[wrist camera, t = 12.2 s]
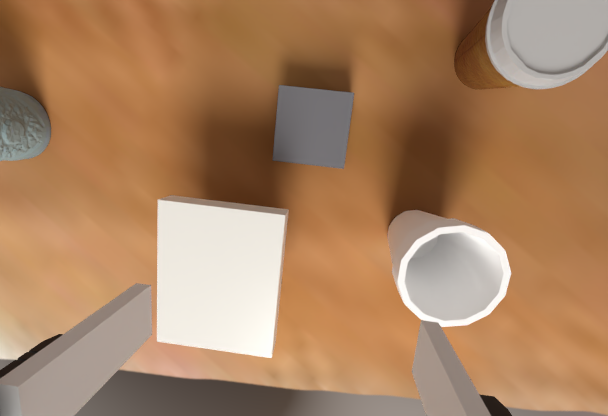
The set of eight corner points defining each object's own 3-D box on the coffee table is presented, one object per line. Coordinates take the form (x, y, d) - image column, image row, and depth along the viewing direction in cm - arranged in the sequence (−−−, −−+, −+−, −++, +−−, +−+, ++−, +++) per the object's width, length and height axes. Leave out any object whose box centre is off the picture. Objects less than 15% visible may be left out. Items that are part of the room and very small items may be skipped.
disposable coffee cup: (545, 34, 34) (660, -22, 22) (498, 117, 36) (580, 106, 24) (466, -3, 34) (540, -79, 22) (423, 83, 36) (470, 55, 24)
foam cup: (381, 193, 39) (408, 218, 26) (457, 201, 38) (521, 231, 26) (370, 264, 41) (390, 320, 28) (442, 273, 40) (495, 333, 28)
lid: (288, 209, 31) (285, 215, 28) (275, 342, 34) (271, 357, 32) (170, 195, 31) (157, 199, 29) (168, 327, 35) (156, 341, 32)
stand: (351, 98, 37) (354, 92, 33) (342, 165, 38) (343, 168, 35) (284, 90, 37) (279, 84, 33) (278, 158, 39) (272, 160, 35)
